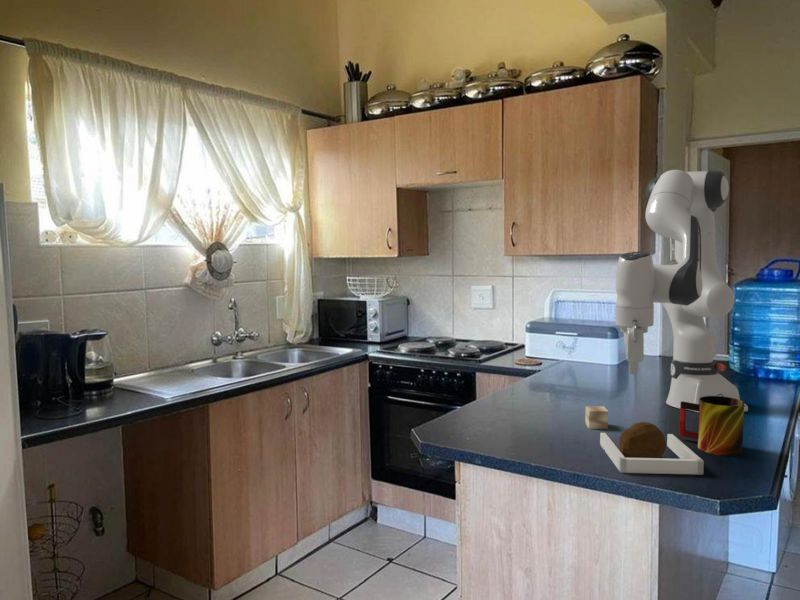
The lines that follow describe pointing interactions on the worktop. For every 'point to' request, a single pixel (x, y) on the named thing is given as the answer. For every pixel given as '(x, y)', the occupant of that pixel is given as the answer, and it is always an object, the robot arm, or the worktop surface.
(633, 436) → the potato
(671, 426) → the worktop surface
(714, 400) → the mug
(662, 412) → the worktop surface
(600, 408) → the beech block
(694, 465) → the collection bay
